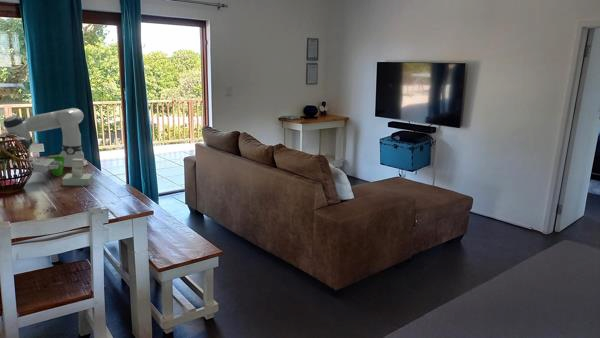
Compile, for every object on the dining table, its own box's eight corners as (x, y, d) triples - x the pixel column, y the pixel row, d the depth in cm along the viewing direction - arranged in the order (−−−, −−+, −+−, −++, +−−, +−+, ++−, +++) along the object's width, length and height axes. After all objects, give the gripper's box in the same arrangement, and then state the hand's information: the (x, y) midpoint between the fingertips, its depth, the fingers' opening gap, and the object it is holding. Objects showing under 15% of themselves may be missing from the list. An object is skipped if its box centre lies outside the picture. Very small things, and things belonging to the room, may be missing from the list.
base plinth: (67, 179, 262) (67, 173, 262) (92, 180, 266) (92, 173, 266) (62, 185, 250) (62, 178, 249) (89, 185, 254) (88, 178, 254)
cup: (68, 174, 276) (68, 157, 274) (59, 177, 267) (59, 159, 265) (55, 172, 277) (54, 155, 275) (45, 175, 268) (45, 158, 266)
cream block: (73, 175, 259) (73, 158, 257) (83, 175, 261) (82, 158, 259) (72, 177, 254) (71, 160, 252) (81, 177, 256) (81, 160, 254)
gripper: (38, 166, 259) (64, 166, 264) (27, 174, 240) (56, 174, 244) (37, 155, 258) (63, 156, 262) (27, 162, 239) (55, 163, 243)
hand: (59, 165), depth 253 cm, fingers open, 8 cm apart
